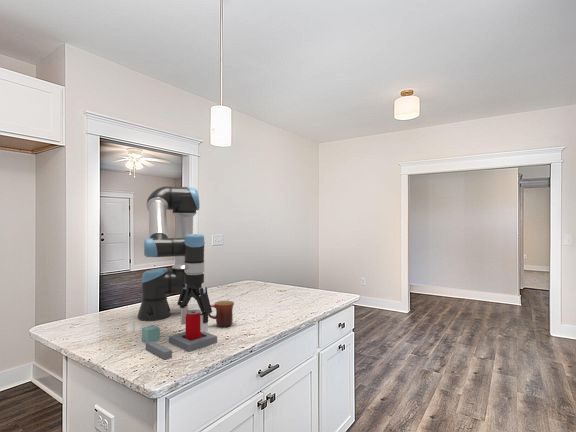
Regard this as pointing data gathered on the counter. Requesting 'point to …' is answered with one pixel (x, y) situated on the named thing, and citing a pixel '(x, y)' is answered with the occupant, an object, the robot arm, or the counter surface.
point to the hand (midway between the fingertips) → (193, 327)
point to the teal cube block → (150, 333)
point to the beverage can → (193, 325)
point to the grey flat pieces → (181, 344)
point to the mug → (223, 313)
